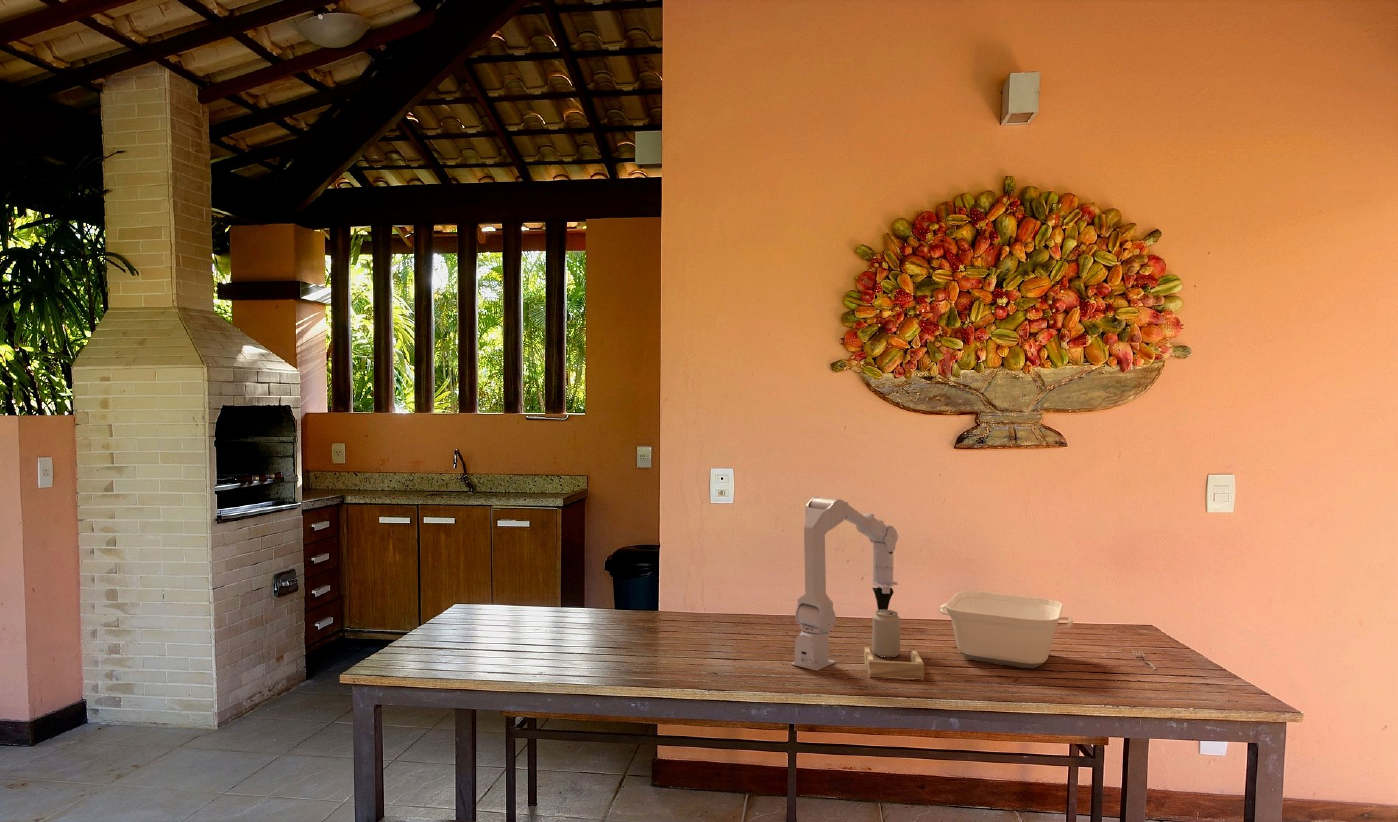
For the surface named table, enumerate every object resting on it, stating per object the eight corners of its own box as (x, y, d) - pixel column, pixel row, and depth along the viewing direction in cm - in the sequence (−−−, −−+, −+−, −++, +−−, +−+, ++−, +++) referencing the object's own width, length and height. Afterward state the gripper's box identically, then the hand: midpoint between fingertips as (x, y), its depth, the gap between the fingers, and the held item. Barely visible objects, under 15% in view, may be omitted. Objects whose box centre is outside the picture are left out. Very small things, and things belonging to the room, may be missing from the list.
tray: (924, 680, 195) (924, 664, 195) (869, 677, 196) (869, 661, 196) (914, 663, 209) (914, 648, 209) (863, 661, 210) (864, 646, 210)
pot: (930, 662, 210) (930, 607, 210) (949, 637, 236) (949, 588, 236) (1070, 683, 194) (1070, 624, 195) (1074, 653, 220) (1075, 601, 220)
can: (902, 659, 212) (903, 615, 213) (875, 658, 213) (875, 614, 213) (896, 651, 220) (896, 608, 220) (869, 650, 220) (870, 608, 220)
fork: (1163, 684, 196) (1163, 676, 196) (1130, 656, 219) (1130, 649, 219) (1177, 685, 195) (1177, 677, 195) (1143, 657, 219) (1143, 650, 219)
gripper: (901, 571, 217) (900, 620, 217) (893, 562, 232) (893, 608, 232) (875, 570, 218) (874, 619, 218) (869, 561, 232) (869, 607, 232)
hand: (882, 613), depth 225 cm, fingers closed
